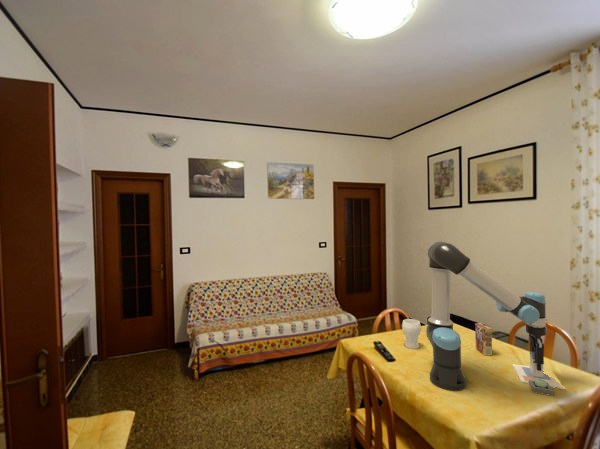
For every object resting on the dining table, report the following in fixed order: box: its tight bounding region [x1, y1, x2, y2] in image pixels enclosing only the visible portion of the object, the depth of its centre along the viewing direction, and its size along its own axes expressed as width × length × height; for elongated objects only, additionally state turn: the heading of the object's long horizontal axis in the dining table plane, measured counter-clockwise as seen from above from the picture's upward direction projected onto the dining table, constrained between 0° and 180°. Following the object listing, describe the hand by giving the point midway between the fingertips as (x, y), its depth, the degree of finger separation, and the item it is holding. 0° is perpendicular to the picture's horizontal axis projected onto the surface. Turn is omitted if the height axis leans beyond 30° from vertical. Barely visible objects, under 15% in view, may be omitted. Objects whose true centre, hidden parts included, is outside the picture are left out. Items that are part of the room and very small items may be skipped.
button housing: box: [528, 380, 555, 396], centre depth 129 cm, size 7×7×2 cm
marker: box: [529, 351, 544, 378], centre depth 140 cm, size 4×4×10 cm
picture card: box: [512, 363, 563, 389], centre depth 140 cm, size 16×18×1 cm
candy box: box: [474, 322, 493, 356], centre depth 167 cm, size 9×4×15 cm, turn 2°
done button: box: [535, 379, 547, 389], centre depth 129 cm, size 4×4×3 cm
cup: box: [401, 318, 422, 350], centre depth 177 cm, size 11×11×15 cm
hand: (536, 374), depth 140 cm, fingers closed on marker, 4 cm apart
